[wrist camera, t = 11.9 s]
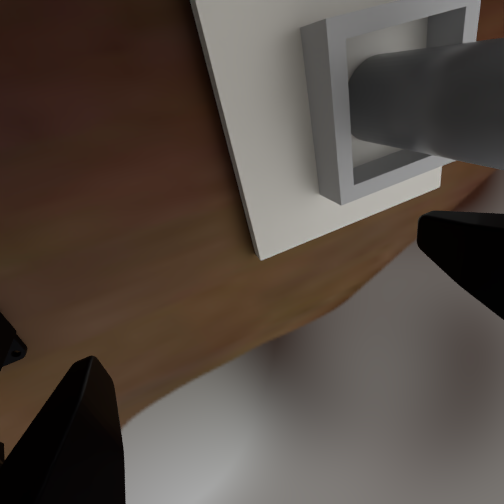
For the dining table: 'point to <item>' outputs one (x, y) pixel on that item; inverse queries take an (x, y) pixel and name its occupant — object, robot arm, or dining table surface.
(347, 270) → the dining table surface
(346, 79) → the socket plate
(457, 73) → the grey can
